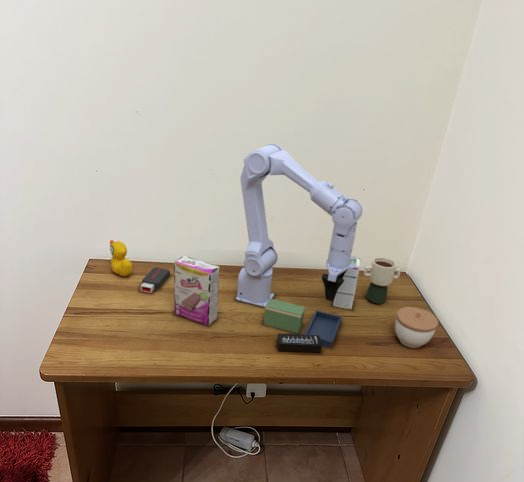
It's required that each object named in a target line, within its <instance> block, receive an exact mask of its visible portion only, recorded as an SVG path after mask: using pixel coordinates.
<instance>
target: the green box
mask: <svg viewBox="0 0 524 482" xmlns="http://www.w3.org/2000/svg"><path fill="white" fill-rule="evenodd" d="M305 311H306V306H302V305H298V304H294V303H290V302H286V301H282V300H279V299H275V298H272V299H271V298H270V300H269V301H268V303H267V304H266V306H265V307H264V315H263V325H264V326H269V327H272V328H276V329H279V330H283V331H287V332H290V333H293V334H300V331H301V329H302V327H303V325H304V318H305V317H304V316H305Z"/></svg>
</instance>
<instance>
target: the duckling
mask: <svg viewBox="0 0 524 482" xmlns="http://www.w3.org/2000/svg"><path fill="white" fill-rule="evenodd" d="M109 251H110V254H111V256H112V257H111V258H110V268H111V271H113V272H114V273H115V274H118V275H119V276H122V277H127V276H130V275H131V274H132V273H133V268H134V265H133V263H132V262H131V260H130V259H129V258H126V256H127V254H128V248H127V246H126V244H125V243H124V242H122V241H120V240H117V241H114V240H113V239H111V240H109Z"/></svg>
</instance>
